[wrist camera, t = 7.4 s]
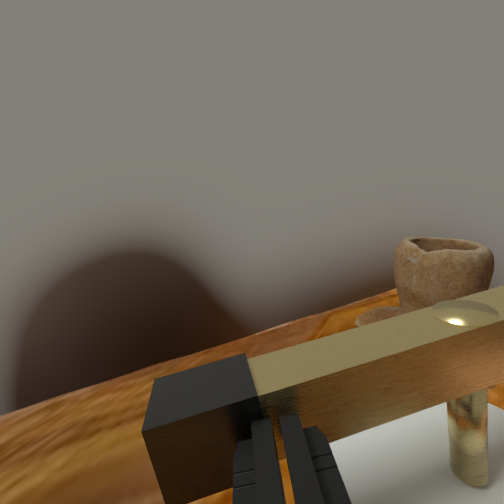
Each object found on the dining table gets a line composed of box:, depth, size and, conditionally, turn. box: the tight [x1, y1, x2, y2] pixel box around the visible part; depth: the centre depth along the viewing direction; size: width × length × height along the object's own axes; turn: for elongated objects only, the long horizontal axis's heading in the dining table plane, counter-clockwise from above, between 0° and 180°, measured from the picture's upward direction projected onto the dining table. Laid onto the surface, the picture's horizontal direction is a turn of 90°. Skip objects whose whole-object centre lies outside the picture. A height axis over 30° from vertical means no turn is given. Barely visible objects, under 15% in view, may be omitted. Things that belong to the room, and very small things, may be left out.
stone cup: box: [355, 237, 494, 327], centre depth 37 cm, size 15×12×15 cm
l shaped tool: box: [141, 285, 504, 504], centre depth 13 cm, size 22×3×9 cm, turn 101°
